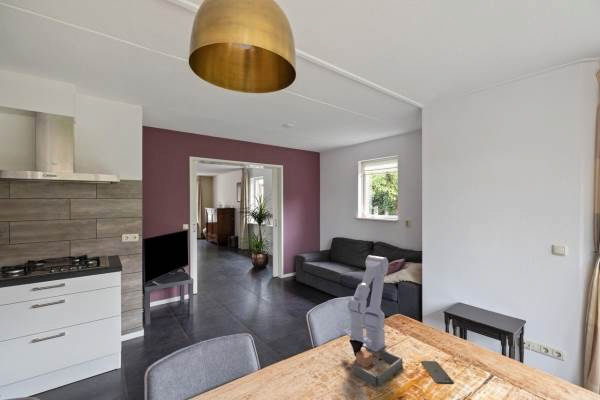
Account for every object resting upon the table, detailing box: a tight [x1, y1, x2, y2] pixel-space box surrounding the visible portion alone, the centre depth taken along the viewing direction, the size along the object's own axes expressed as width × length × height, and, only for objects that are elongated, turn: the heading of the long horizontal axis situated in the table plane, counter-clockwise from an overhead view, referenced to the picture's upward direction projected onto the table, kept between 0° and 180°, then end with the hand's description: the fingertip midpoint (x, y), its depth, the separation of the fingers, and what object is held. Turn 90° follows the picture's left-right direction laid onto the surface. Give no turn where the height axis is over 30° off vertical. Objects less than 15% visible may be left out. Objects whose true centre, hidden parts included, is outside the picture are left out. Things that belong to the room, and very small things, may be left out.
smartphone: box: [420, 360, 455, 385], centre depth 113 cm, size 7×1×15 cm
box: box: [353, 348, 403, 388], centre depth 114 cm, size 20×11×4 cm, turn 132°
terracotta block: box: [355, 349, 373, 368], centre depth 119 cm, size 5×5×4 cm
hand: (357, 355), depth 122 cm, fingers closed
